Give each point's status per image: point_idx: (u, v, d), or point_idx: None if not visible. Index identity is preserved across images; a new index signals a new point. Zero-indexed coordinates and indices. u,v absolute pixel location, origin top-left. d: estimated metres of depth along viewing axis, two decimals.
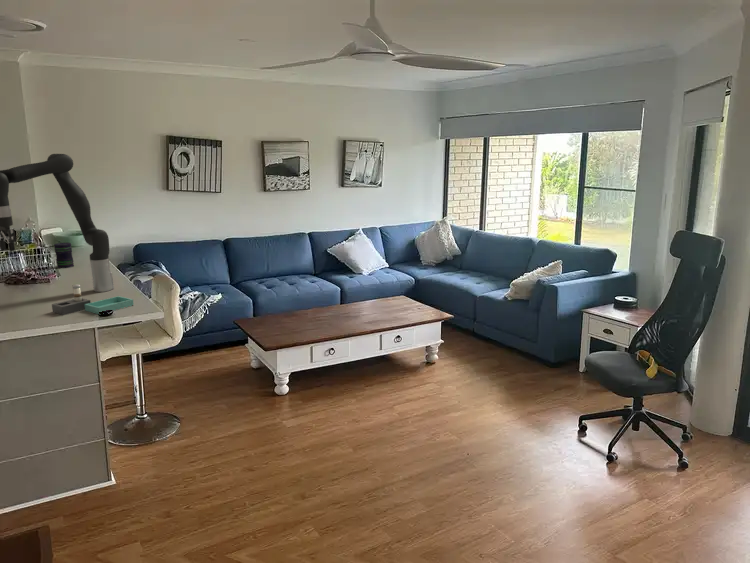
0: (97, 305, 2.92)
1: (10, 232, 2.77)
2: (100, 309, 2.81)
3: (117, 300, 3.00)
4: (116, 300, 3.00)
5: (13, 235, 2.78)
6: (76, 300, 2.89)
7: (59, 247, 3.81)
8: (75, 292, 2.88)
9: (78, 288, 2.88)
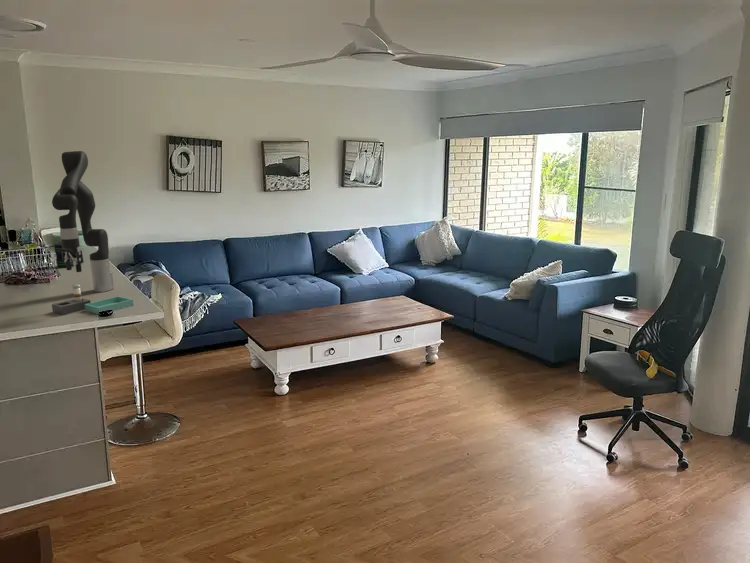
0: (97, 305, 2.92)
1: (78, 254, 2.80)
2: (100, 309, 2.81)
3: (117, 300, 3.00)
4: (116, 300, 3.00)
5: (81, 256, 2.82)
6: (76, 300, 2.89)
7: (59, 247, 3.81)
8: (75, 292, 2.88)
9: (78, 288, 2.88)
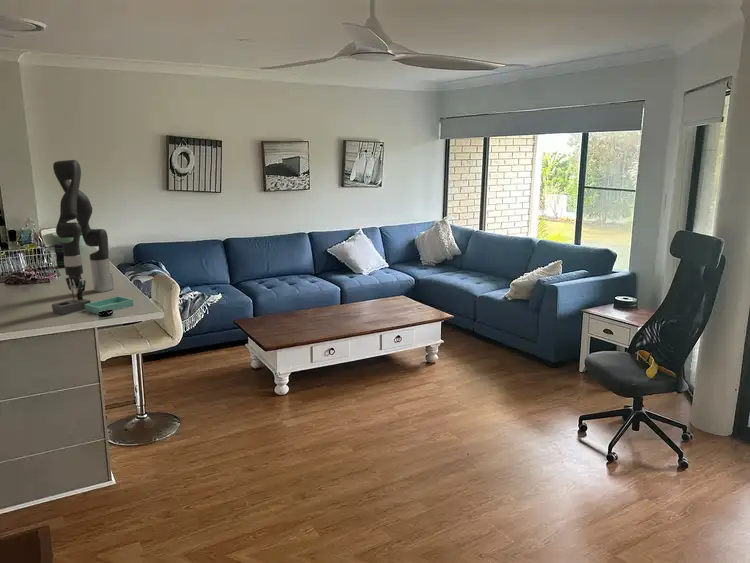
0: (97, 305, 2.92)
1: (81, 284, 2.84)
2: (100, 309, 2.81)
3: (117, 300, 3.00)
4: (116, 300, 3.00)
5: (83, 286, 2.86)
6: (76, 300, 2.89)
7: (59, 247, 3.81)
8: (75, 292, 2.88)
9: (78, 288, 2.88)
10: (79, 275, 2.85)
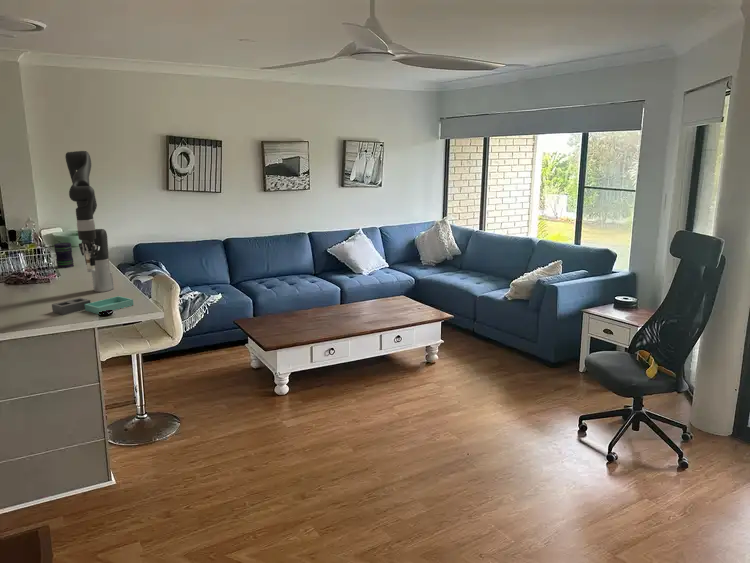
0: (97, 305, 2.92)
1: (94, 249, 2.80)
2: (100, 309, 2.81)
3: (117, 300, 3.00)
4: (116, 300, 3.00)
5: (96, 251, 2.81)
6: (88, 266, 2.84)
7: (59, 247, 3.81)
8: (88, 257, 2.83)
9: None
10: (92, 240, 2.81)
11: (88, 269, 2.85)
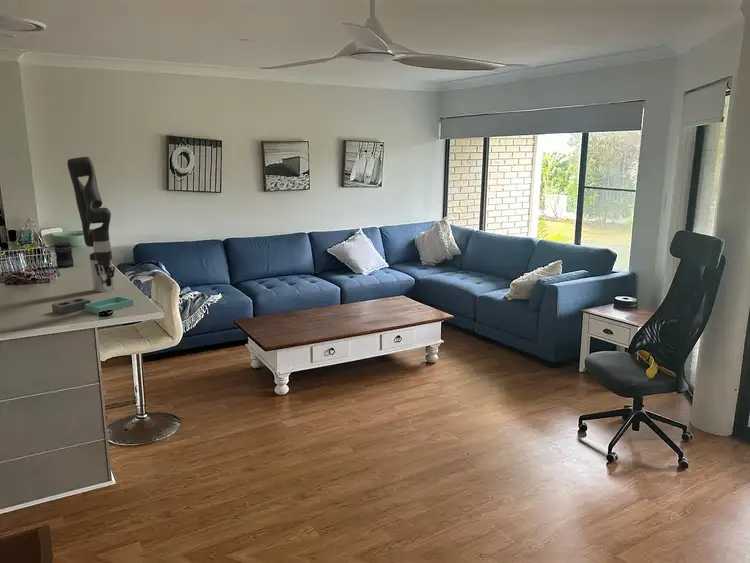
0: (97, 305, 2.92)
1: (111, 270, 2.83)
2: (100, 309, 2.81)
3: (117, 300, 3.00)
4: (116, 300, 3.00)
5: (112, 272, 2.84)
6: (105, 286, 2.87)
7: (59, 247, 3.81)
8: (104, 278, 2.86)
9: (107, 274, 2.86)
10: (108, 261, 2.84)
11: (104, 289, 2.88)
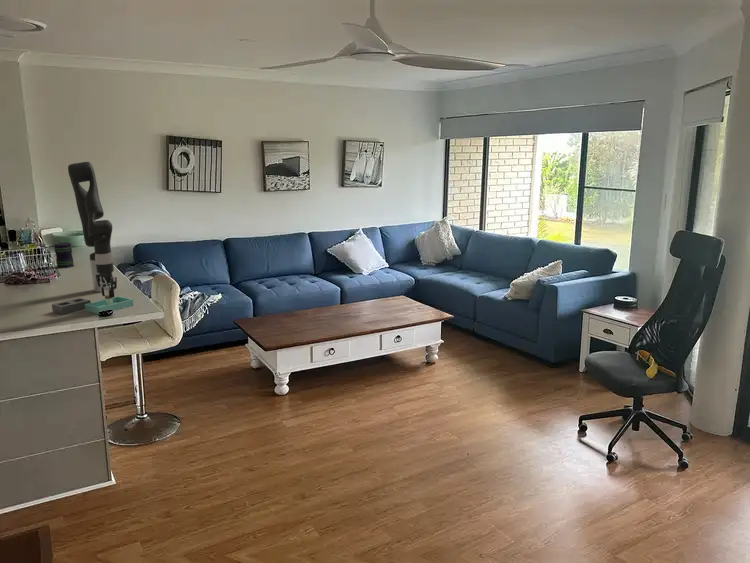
0: (97, 305, 2.92)
1: (113, 280, 2.84)
2: (100, 309, 2.81)
3: (117, 300, 3.00)
4: (116, 300, 3.00)
5: (115, 283, 2.85)
6: (107, 302, 2.89)
7: (59, 247, 3.81)
8: (106, 294, 2.88)
9: None
10: (110, 273, 2.85)
11: None
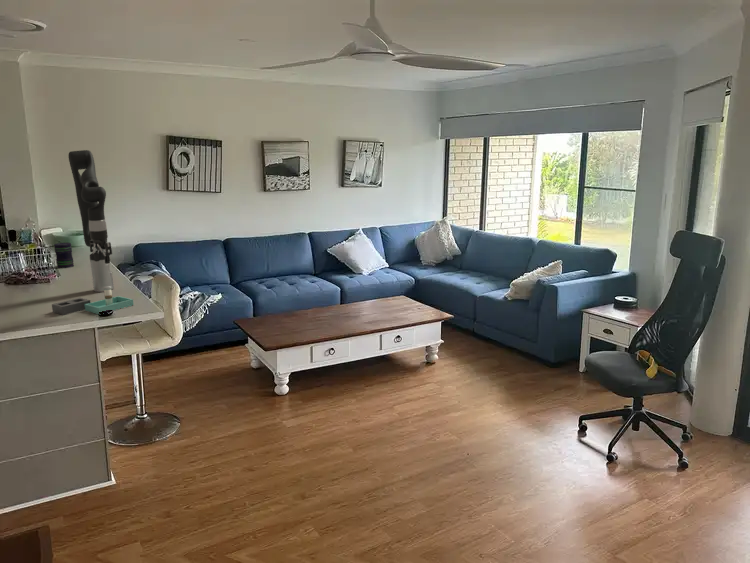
0: (97, 305, 2.92)
1: (107, 245, 2.84)
2: (100, 309, 2.81)
3: (117, 300, 3.00)
4: (116, 300, 3.00)
5: (109, 248, 2.85)
6: (107, 302, 2.89)
7: (59, 247, 3.81)
8: (106, 294, 2.88)
9: (109, 290, 2.88)
10: (104, 240, 2.86)
11: None
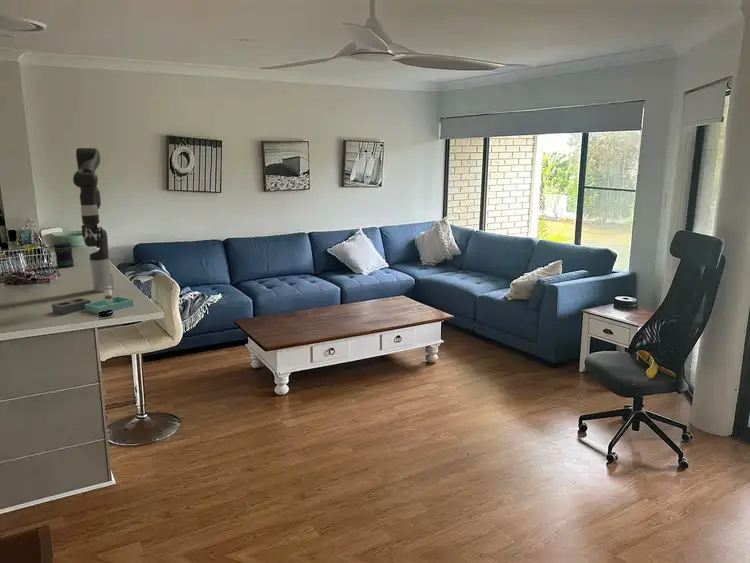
0: (97, 305, 2.92)
1: (98, 230, 2.89)
2: (100, 309, 2.81)
3: (117, 300, 3.00)
4: (116, 300, 3.00)
5: (101, 232, 2.90)
6: (107, 302, 2.89)
7: (59, 247, 3.81)
8: (106, 294, 2.88)
9: (109, 290, 2.88)
10: (96, 224, 2.91)
11: None
